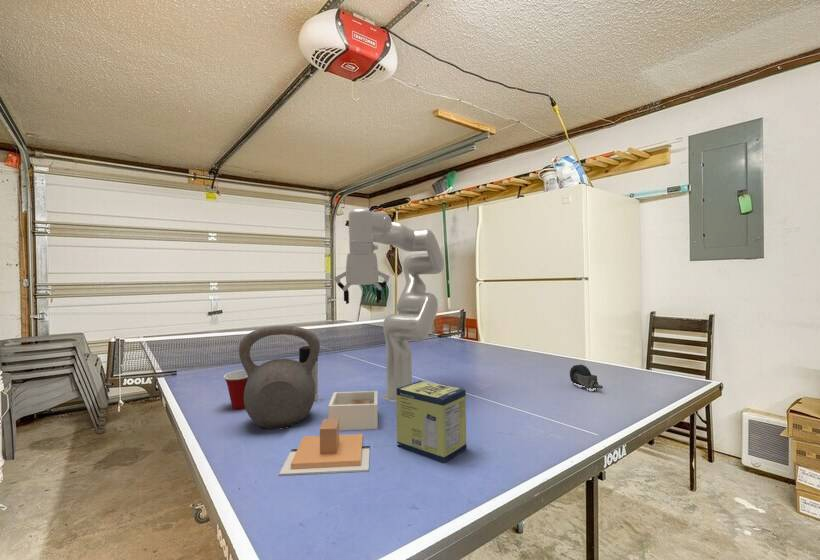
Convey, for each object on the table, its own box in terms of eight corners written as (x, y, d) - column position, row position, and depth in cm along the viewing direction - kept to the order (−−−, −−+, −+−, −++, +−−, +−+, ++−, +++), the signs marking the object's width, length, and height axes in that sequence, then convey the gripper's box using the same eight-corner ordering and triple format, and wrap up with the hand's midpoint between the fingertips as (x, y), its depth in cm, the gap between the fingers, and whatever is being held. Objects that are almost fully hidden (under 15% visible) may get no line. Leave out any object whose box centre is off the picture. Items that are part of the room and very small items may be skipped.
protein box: (420, 434, 110) (419, 379, 110) (467, 449, 100) (466, 389, 100) (395, 446, 102) (395, 387, 102) (444, 464, 92) (444, 398, 92)
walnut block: (369, 415, 123) (369, 399, 123) (369, 422, 117) (369, 405, 117) (350, 416, 122) (350, 400, 122) (349, 423, 116) (349, 406, 116)
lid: (362, 438, 106) (362, 412, 107) (360, 465, 91) (360, 434, 91) (303, 440, 105) (303, 414, 105) (290, 469, 89) (290, 437, 89)
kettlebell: (233, 437, 109) (233, 330, 109) (244, 416, 126) (243, 324, 126) (320, 429, 115) (320, 327, 115) (319, 410, 132) (319, 322, 132)
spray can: (320, 399, 144) (320, 345, 144) (314, 405, 137) (314, 348, 137) (303, 399, 144) (303, 345, 144) (296, 404, 137) (295, 348, 138)
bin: (377, 415, 126) (377, 390, 126) (377, 432, 112) (377, 404, 112) (334, 417, 124) (333, 392, 125) (328, 434, 111) (328, 406, 111)
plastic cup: (216, 409, 133) (216, 374, 133) (243, 400, 143) (242, 368, 143) (237, 414, 128) (237, 377, 128) (263, 404, 138) (263, 371, 138)
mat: (370, 436, 108) (370, 435, 108) (368, 471, 89) (368, 469, 89) (297, 439, 107) (297, 438, 107) (279, 475, 87) (279, 473, 87)
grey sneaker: (567, 388, 160) (596, 393, 146) (565, 364, 161) (594, 367, 147) (578, 386, 162) (608, 392, 148) (576, 363, 163) (605, 366, 149)
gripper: (388, 249, 127) (389, 301, 127) (335, 250, 125) (336, 303, 126) (389, 247, 120) (390, 303, 120) (332, 248, 118) (334, 304, 118)
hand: (362, 303), depth 123 cm, fingers open, 9 cm apart
